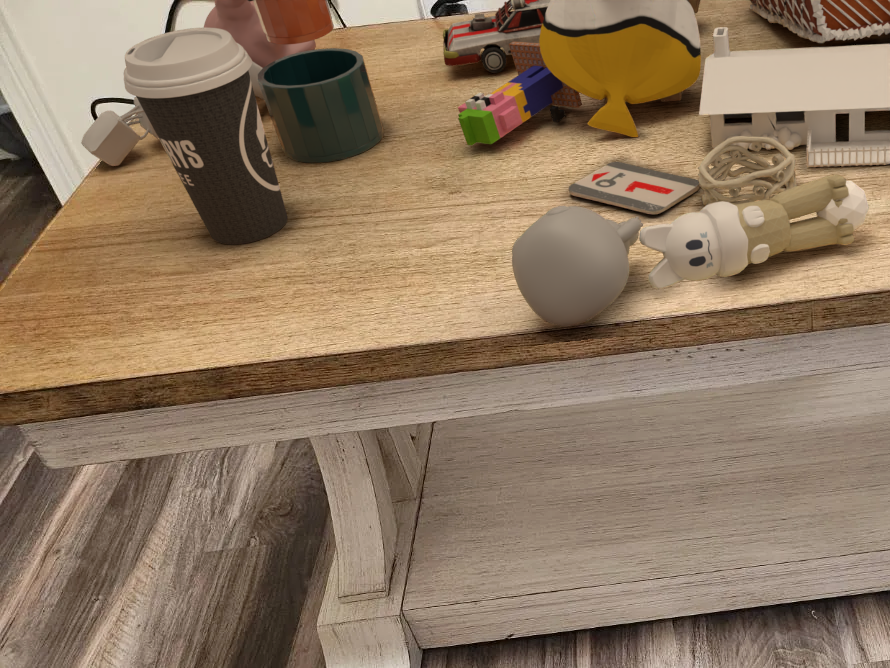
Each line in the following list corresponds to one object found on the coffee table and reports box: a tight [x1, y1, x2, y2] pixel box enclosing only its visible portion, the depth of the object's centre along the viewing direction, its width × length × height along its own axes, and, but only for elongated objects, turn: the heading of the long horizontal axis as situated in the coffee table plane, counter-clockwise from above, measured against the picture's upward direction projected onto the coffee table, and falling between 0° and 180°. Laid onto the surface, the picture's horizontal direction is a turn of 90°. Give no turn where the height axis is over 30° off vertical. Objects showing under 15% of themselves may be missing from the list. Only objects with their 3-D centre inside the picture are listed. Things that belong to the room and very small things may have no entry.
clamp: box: [80, 61, 265, 167], centre depth 109 cm, size 20×4×7 cm, turn 130°
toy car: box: [442, 0, 550, 74], centre depth 117 cm, size 8×18×8 cm, turn 101°
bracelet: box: [697, 136, 798, 206], centre depth 91 cm, size 4×8×8 cm
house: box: [698, 26, 890, 168], centre depth 99 cm, size 25×24×7 cm
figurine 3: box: [511, 205, 644, 327], centre depth 80 cm, size 8×8×12 cm
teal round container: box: [257, 47, 385, 164], centre depth 105 cm, size 10×10×7 cm
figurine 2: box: [457, 42, 583, 146], centre depth 104 cm, size 7×6×12 cm
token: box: [568, 161, 701, 215], centre depth 95 cm, size 7×1×10 cm
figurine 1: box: [203, 0, 317, 68], centre depth 115 cm, size 9×11×12 cm
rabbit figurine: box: [638, 174, 870, 290], centre depth 84 cm, size 5×10×18 cm
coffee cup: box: [123, 27, 289, 245], centre depth 90 cm, size 10×10×15 cm
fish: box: [539, 0, 702, 138], centre depth 103 cm, size 20×12×15 cm
